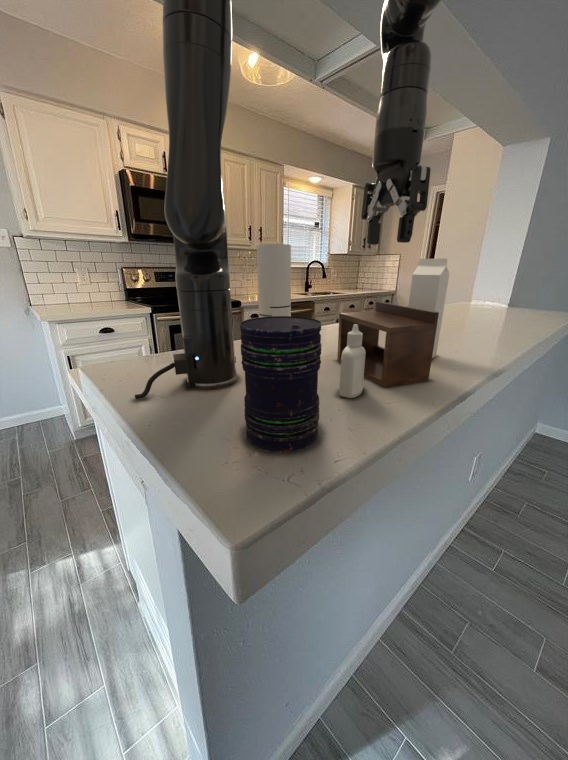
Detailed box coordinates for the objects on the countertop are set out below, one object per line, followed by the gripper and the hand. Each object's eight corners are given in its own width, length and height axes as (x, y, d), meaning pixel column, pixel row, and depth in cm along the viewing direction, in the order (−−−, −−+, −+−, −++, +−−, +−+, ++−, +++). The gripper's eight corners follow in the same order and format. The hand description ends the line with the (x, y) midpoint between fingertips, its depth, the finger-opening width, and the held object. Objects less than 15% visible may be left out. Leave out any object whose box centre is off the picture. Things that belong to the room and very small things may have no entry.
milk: (427, 361, 73) (443, 258, 66) (401, 356, 77) (413, 258, 69) (436, 356, 78) (452, 258, 70) (411, 351, 81) (424, 258, 74)
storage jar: (232, 428, 45) (224, 321, 40) (289, 410, 50) (289, 313, 45) (271, 463, 37) (268, 335, 32) (334, 437, 42) (340, 324, 37)
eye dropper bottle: (371, 394, 56) (378, 325, 52) (345, 400, 53) (350, 328, 49) (355, 386, 60) (360, 321, 55) (330, 391, 57) (333, 324, 53)
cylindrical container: (290, 364, 72) (290, 244, 64) (259, 364, 73) (254, 244, 64) (290, 355, 79) (290, 245, 70) (261, 355, 79) (258, 245, 71)
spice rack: (384, 387, 59) (392, 315, 54) (337, 360, 75) (339, 303, 70) (428, 380, 62) (439, 312, 57) (373, 356, 78) (378, 301, 73)
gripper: (354, 144, 56) (347, 244, 62) (411, 111, 44) (396, 240, 49) (389, 150, 59) (380, 245, 65) (453, 120, 46) (434, 242, 52)
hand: (387, 243), depth 57 cm, fingers open, 8 cm apart
